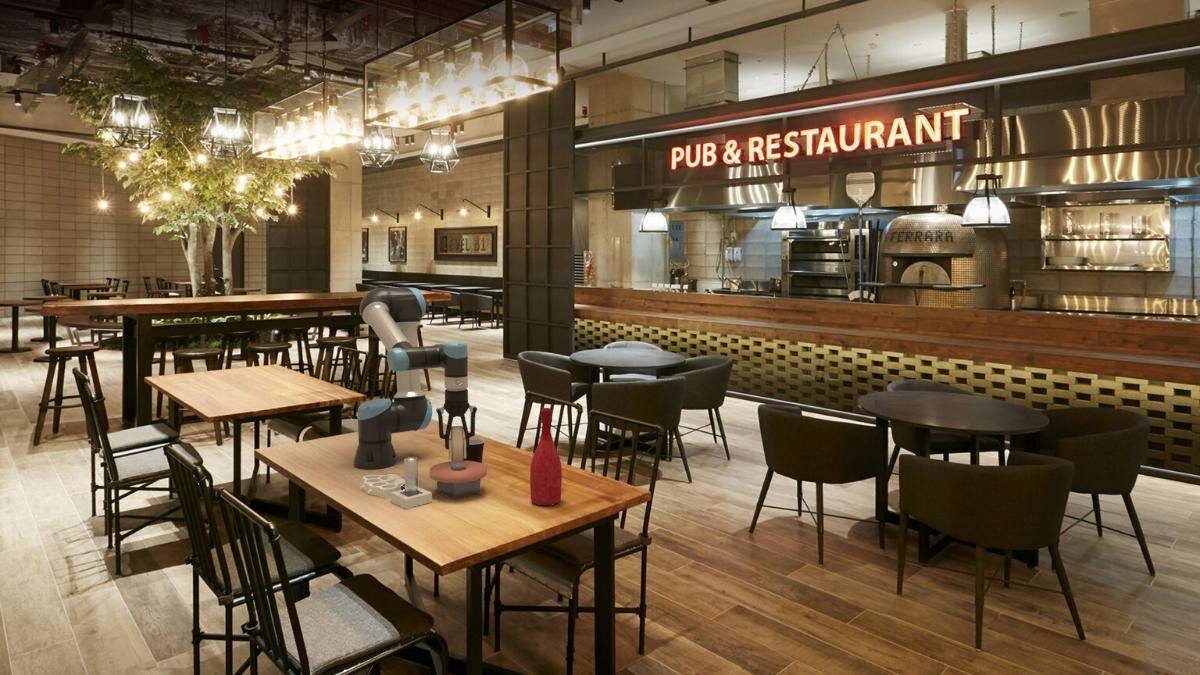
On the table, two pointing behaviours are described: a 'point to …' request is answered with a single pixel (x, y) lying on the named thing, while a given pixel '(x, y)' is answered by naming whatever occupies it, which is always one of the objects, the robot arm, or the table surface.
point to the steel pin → (411, 476)
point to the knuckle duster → (382, 484)
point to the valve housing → (458, 489)
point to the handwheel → (457, 463)
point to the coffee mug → (474, 450)
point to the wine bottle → (546, 466)
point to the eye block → (411, 498)
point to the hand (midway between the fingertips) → (457, 457)
